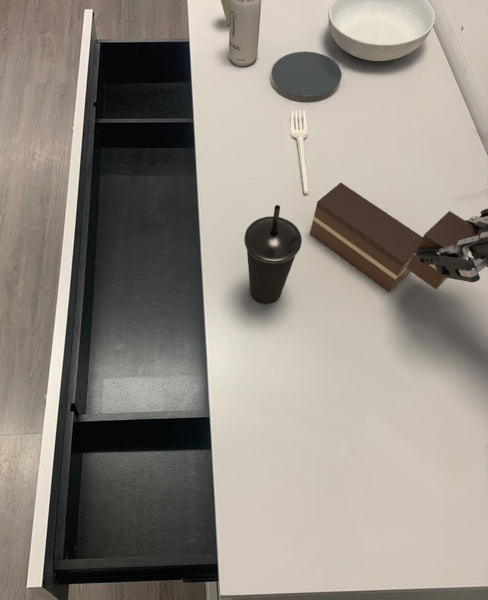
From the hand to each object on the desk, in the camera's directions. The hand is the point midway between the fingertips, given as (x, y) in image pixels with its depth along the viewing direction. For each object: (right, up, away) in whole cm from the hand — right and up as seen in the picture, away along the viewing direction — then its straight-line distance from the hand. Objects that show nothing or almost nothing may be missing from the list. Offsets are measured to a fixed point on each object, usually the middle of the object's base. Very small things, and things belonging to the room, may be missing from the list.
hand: (432, 242), depth 73 cm
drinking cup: (-21, -7, +11) cm, 25 cm away
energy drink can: (-22, +43, +40) cm, 63 cm away
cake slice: (+1, -3, +3) cm, 5 cm away
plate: (-10, +37, +36) cm, 52 cm away
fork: (-13, +19, +25) cm, 34 cm away
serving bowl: (+6, +47, +41) cm, 62 cm away
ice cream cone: (-24, +53, +46) cm, 75 cm away
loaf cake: (-6, 0, +13) cm, 15 cm away
